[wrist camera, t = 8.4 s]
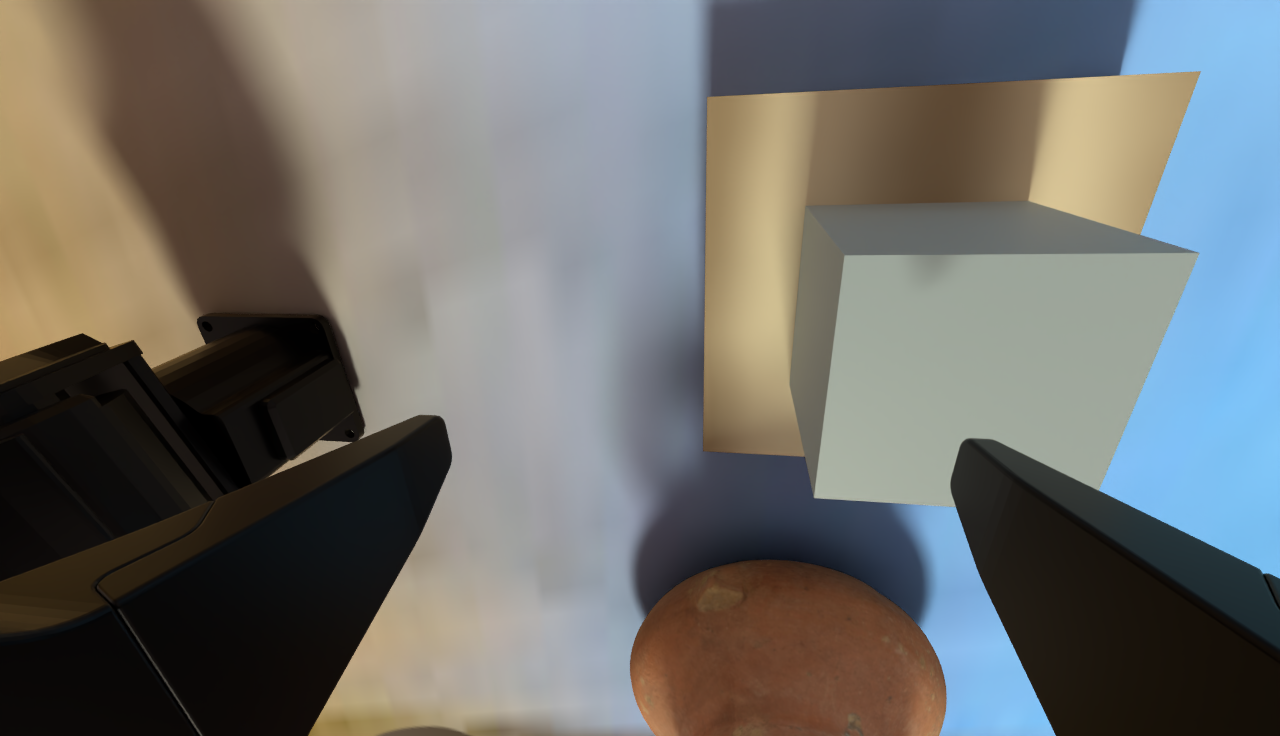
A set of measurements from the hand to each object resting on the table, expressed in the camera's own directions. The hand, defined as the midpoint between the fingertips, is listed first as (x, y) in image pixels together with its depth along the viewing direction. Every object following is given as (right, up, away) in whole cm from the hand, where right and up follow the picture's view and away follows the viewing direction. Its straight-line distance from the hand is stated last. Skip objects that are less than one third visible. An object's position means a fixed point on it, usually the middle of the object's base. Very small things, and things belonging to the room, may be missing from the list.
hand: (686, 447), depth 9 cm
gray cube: (+7, +3, +7) cm, 11 cm away
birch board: (+8, +5, +10) cm, 13 cm away
